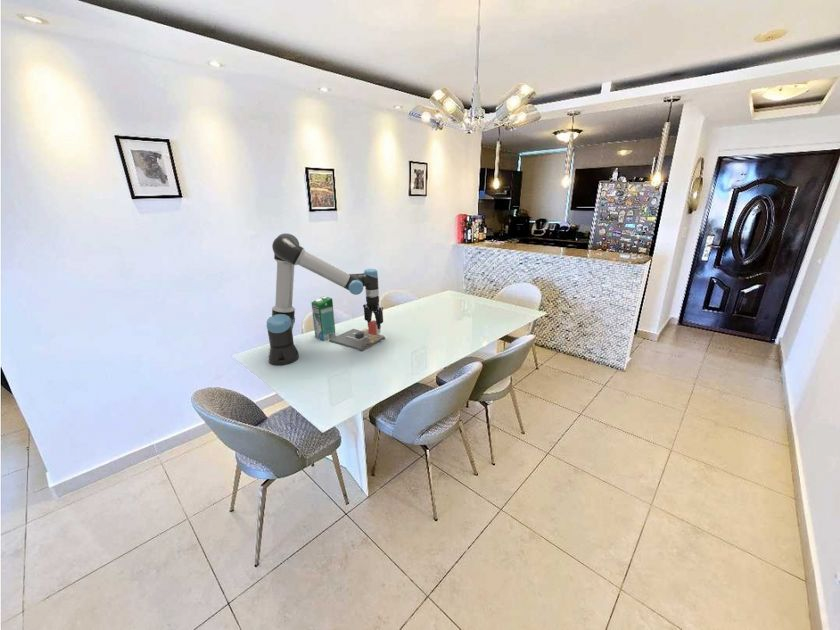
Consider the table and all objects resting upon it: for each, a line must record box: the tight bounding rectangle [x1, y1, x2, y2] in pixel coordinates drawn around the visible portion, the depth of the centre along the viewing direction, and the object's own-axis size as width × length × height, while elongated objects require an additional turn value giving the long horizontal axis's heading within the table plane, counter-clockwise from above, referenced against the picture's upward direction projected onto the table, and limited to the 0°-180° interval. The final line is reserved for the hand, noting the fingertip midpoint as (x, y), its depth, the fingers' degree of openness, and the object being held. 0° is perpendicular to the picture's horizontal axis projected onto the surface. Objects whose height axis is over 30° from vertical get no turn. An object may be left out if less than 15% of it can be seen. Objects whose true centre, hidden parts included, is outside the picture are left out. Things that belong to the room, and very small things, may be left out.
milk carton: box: [310, 295, 337, 342], centre depth 206 cm, size 9×9×25 cm
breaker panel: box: [328, 328, 386, 352], centre depth 205 cm, size 26×21×5 cm
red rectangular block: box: [367, 319, 377, 335], centre depth 204 cm, size 5×5×7 cm
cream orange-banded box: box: [361, 328, 369, 336], centre depth 209 cm, size 3×4×4 cm
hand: (374, 332), depth 205 cm, fingers closed on red rectangular block, 5 cm apart
